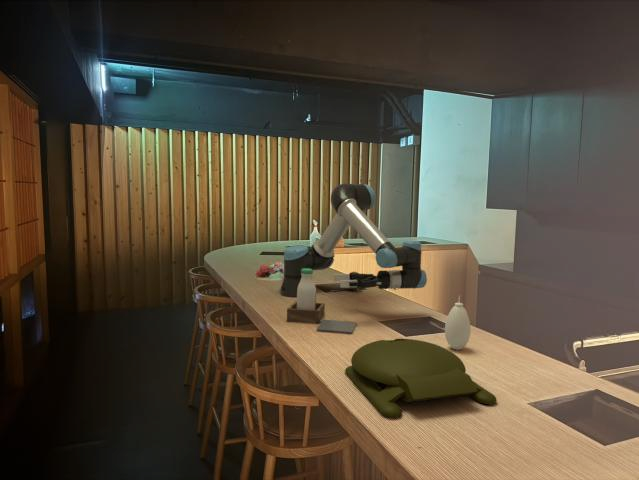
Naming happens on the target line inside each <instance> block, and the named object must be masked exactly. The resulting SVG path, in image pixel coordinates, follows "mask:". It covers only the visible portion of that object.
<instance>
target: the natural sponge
mask: <svg viewBox="0 0 639 480" xmlns="http://www.w3.org/2000/svg"><path fill="white" fill-rule="evenodd" d="M350 273H358V272H357V271H351V272H349V273H348V274H350ZM352 278H353V276H352ZM357 282H358V281H357ZM347 289H349V290H351V291H353V292H355V291H356V290H358V289H359V287H358V286H357V287H347Z"/></svg>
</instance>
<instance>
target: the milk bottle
mask: <svg viewBox="0 0 639 480" xmlns="http://www.w3.org/2000/svg"><path fill="white" fill-rule="evenodd" d="M313 272H314V271H313V269H309V268H304V269H301V275H302V277H301V281H300V283H299V285H298V288H297V297H296V302H297V309H304V310H316V303H317V287H316V283H315V282H314V280H313V275H314V274H313Z"/></svg>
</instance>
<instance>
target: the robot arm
mask: <svg viewBox="0 0 639 480" xmlns="http://www.w3.org/2000/svg"><path fill="white" fill-rule="evenodd" d="M375 203H376V193H375V191H374V188H372V187H371V186H370V185H369V184H364V183H340V184H338V185H336V186H335V187H334V188H333V190H332V192H331V194H330V204H331V206H332V208H333V210H334V211H335V215H334V216H333V218H332V220H331V221H330V223H329V224H328V225H327V228H326V229H325V231H324V232H323V234H322V235H321V236H320V238H319V239H317V240H315V241H313V243H312V245H311V246H310V247H308V246H307V245H302V244H300V245H292V246H288V247H287V248H285V250H283V251H284V255H283V264H284V279H283V281H282V282H281V286H280V289H279V293H280V295H281V296H283V297H284V296H285V297H289V298H297V288H298V285H299V283H300V281H301V277H302V275H301V269H304V268H309V269H313V272H314V271H322V270H325V269H326V270H327V269H329V268H330V267H332V266H333V264H334V262H335V248H336V247H337V245H338V244H339V242H340V241H341V239H342V238H343V237H344V235H345V234H346V232H347V231H348V230H349V228H350V226H351V227H352V228H353V230H354V231H355V232H356V233H357V234H358V236H359V237H360V238H361V239H362V240H363V242H365V244H366V245H367V246H368V247H369V248H370V249H371V251H372V252H374V254H375V261H376V265H378V266H379V267H380V268H381V269H389V270H378V271H377V274H376V275H375V274H374V273H373V274H372V273H359V272H357V273H351V272H349V273H350V274H349V273H338V274H337V273H333V281H334V282H339V283H340V284H339V285H340V287H339V288H347V289H348V287H357V286H358V287H359V288H360V289H361V290H362V289H367V288H368V289H369V288H375V287H377V288H378V289H379V290H389V289H391V290H392V289H393V290H394V291H396V290H398V289H400V290H401V289H413V290H414V289H423V288H424V287H426V285H427V281H428V278H427V273H426V271H425V270H423V269H422V267H421V266H422V265H421V264H422V253H423V252H422V243H421V242H420V241H419V240H418V241H416V240H406V241H403V242H402V246H399V247H396V246H395V245H393V243H392V242H391V241H390V240H389V239H388V238H387V237H386V235H384V233H382V231H381V230H380V229H379V228H378V227H377V226H376V225H375V223H374V222H373V221H372V220H371V219H370V218H369V217H368V215H366V214H365V213H364V212H365V211H368V210H370V209H372V208H373V207H374V206H375ZM397 267H401V270H400V269H397V270H396V269H393V268H397ZM390 269H391V270H390ZM392 269H393V270H392ZM352 276H353V278H352ZM357 281H358V282H357ZM359 288H358V289H359Z"/></svg>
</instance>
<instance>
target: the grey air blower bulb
mask: <svg viewBox="0 0 639 480" xmlns="http://www.w3.org/2000/svg"><path fill="white" fill-rule="evenodd" d="M444 335H445V336H444V337H445V340H446V342H447V344H448V345H449V346H450V347H451V348H452V349H453V350H455V349H456V351H458V350H462V349H463V348H465V347H466V346H467V344H468V343H469V340H470V337H471V322H470V317H469V315H468V312H467V310H466V308H465V307H464V304H463V303H462V302H461V296H460V295H458V301H457V302H455V303H454V306H453V307H452V308H451V309H450V311H449V313H448V314H447V318H446V320H445V325H444Z"/></svg>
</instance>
